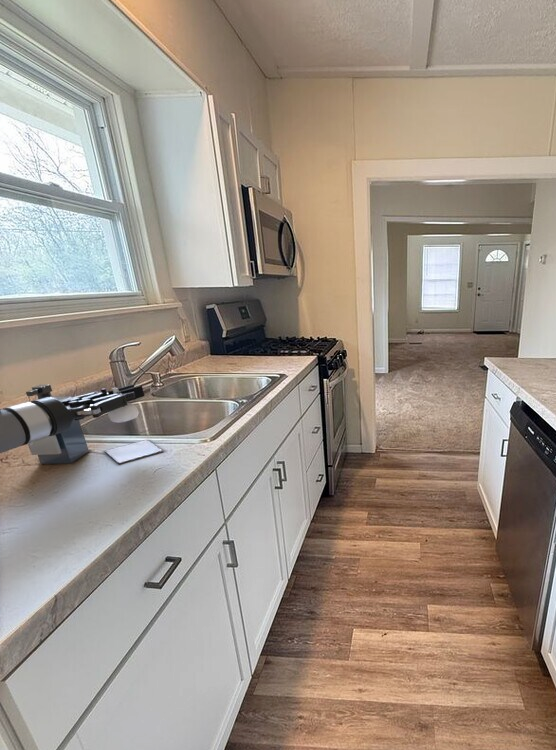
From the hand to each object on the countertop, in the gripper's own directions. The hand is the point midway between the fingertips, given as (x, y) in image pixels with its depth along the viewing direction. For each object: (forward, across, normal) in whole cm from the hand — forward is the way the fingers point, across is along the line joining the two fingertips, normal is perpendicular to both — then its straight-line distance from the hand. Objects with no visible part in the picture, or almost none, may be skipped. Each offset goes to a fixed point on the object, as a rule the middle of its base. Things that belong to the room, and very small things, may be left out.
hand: (137, 390), depth 100 cm
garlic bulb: (-6, 0, -6) cm, 8 cm away
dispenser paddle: (-18, -12, -12) cm, 24 cm away
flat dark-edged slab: (-5, 0, -15) cm, 16 cm away
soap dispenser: (-13, -14, -15) cm, 24 cm away
